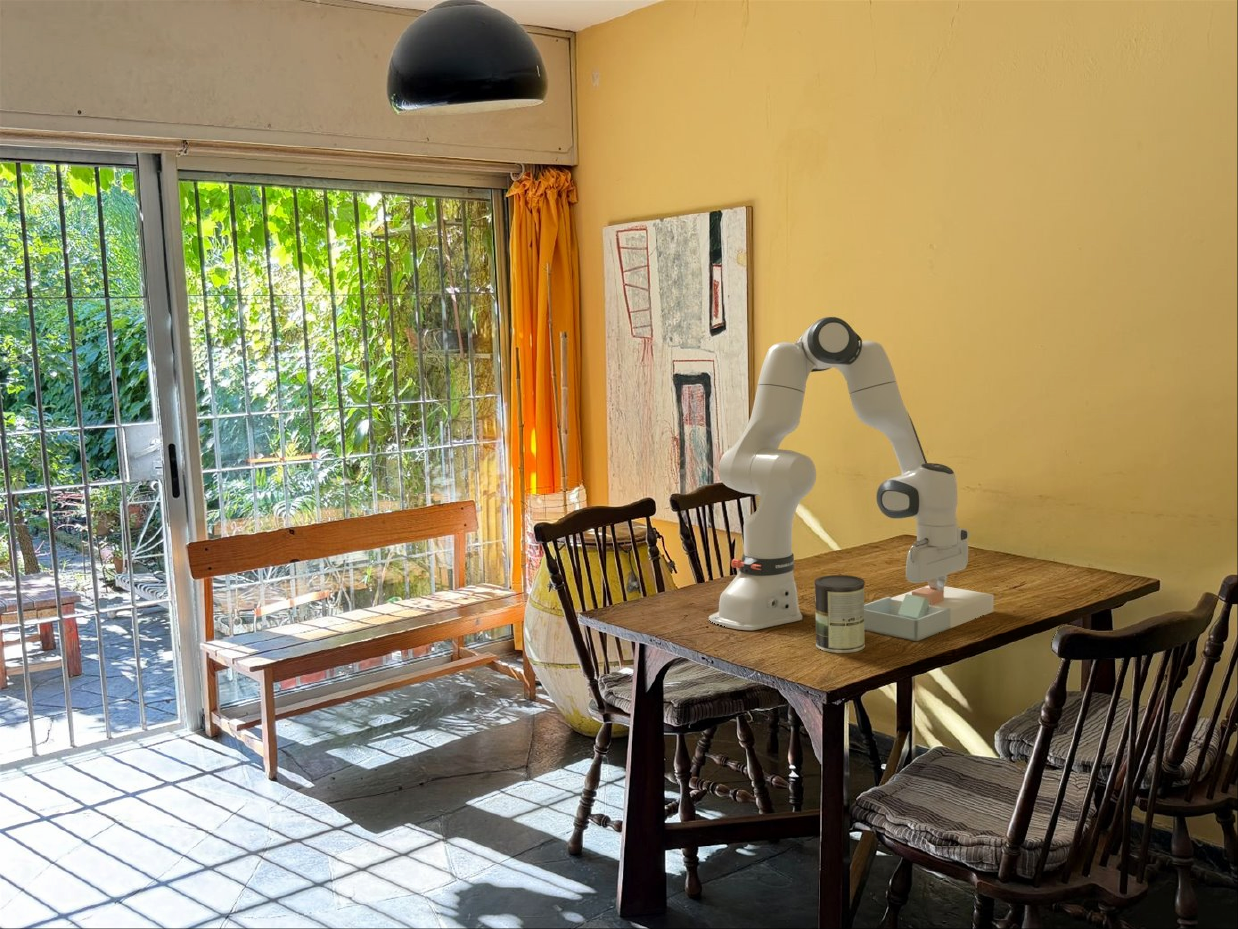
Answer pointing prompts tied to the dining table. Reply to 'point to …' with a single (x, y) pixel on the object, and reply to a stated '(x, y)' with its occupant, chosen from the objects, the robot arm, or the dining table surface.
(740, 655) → the dining table surface
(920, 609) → the tile sage
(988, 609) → the white shallow box
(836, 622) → the coffee can
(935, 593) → the tile terracotta
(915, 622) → the box
